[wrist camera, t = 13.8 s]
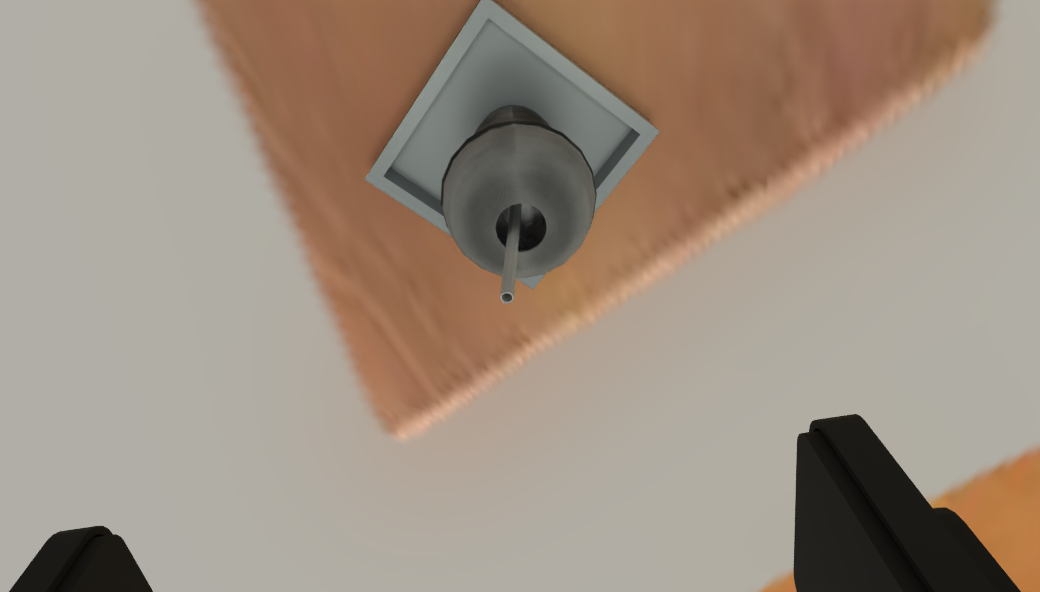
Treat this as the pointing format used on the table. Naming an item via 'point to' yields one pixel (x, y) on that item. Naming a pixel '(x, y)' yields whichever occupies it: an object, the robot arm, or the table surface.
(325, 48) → the table surface
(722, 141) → the table surface
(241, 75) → the table surface
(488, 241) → the beverage cup
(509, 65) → the tray
